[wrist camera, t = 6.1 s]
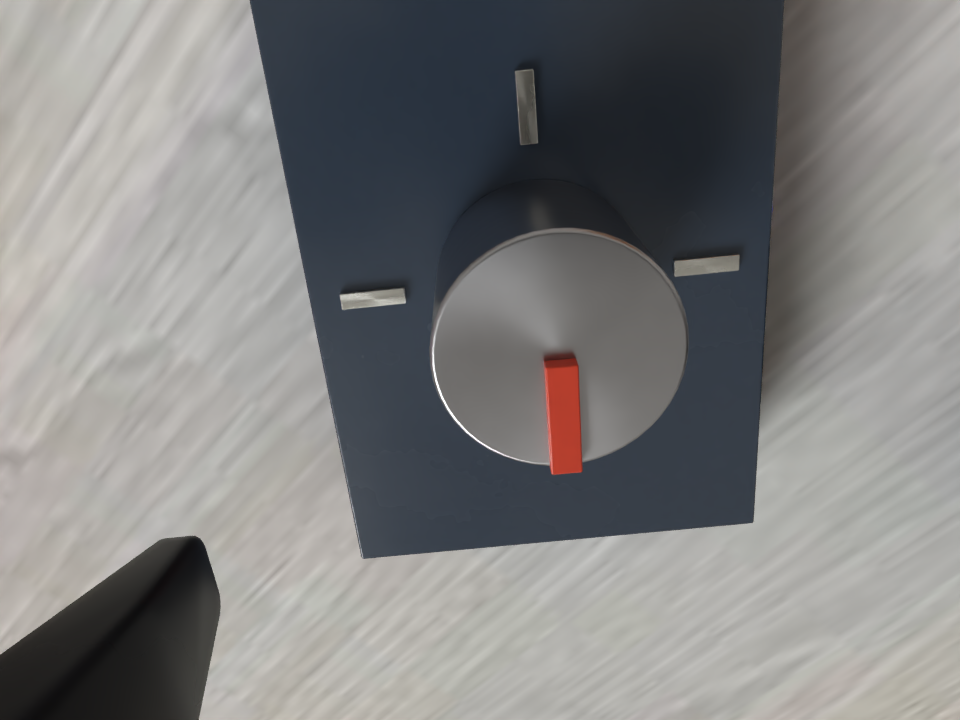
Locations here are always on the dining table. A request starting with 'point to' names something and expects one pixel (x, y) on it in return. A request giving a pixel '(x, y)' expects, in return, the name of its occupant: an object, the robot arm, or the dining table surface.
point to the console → (503, 161)
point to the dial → (553, 327)
